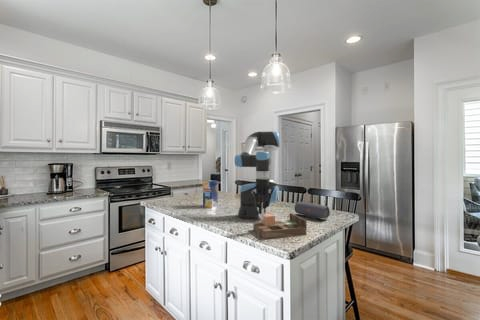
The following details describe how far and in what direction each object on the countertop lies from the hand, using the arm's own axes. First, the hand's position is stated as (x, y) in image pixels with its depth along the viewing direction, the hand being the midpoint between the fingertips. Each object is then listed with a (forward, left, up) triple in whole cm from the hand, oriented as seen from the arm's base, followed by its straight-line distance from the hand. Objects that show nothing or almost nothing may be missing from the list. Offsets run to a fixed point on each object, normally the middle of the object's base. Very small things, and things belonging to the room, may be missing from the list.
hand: (262, 219), depth 136 cm
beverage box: (-73, -16, -7) cm, 75 cm away
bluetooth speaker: (-18, +46, -7) cm, 50 cm away
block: (0, +4, -3) cm, 5 cm away
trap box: (+4, +9, -7) cm, 12 cm away
